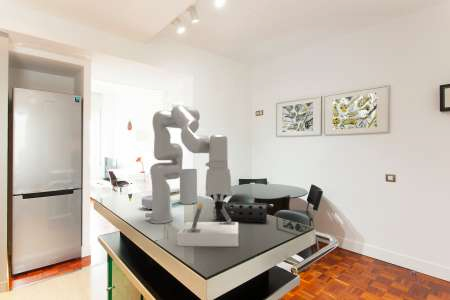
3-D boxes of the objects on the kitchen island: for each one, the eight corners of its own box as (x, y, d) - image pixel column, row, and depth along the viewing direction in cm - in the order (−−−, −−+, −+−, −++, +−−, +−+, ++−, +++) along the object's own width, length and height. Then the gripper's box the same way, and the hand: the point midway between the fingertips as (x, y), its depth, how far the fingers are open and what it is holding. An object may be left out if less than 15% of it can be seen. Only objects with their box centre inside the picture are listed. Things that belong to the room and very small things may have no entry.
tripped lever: (190, 230, 97) (198, 204, 97) (192, 227, 101) (199, 202, 101) (194, 231, 97) (202, 205, 97) (195, 229, 101) (203, 204, 101)
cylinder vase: (177, 204, 176) (177, 169, 176) (183, 201, 188) (183, 168, 188) (194, 205, 174) (193, 169, 174) (199, 201, 186) (198, 168, 186)
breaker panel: (177, 245, 96) (177, 232, 96) (186, 232, 112) (186, 221, 112) (238, 246, 95) (238, 233, 95) (238, 233, 111) (238, 221, 111)
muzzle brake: (266, 225, 123) (266, 204, 123) (212, 222, 129) (212, 203, 129) (266, 220, 133) (266, 201, 133) (216, 218, 138) (216, 199, 138)
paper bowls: (159, 211, 155) (159, 199, 155) (137, 210, 158) (137, 198, 158) (168, 206, 170) (168, 195, 170) (148, 205, 173) (148, 194, 173)
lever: (228, 224, 107) (216, 203, 108) (228, 222, 111) (216, 201, 111) (231, 222, 107) (219, 201, 108) (231, 220, 111) (219, 199, 111)
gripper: (198, 166, 95) (199, 213, 95) (236, 165, 95) (237, 213, 94) (201, 165, 103) (201, 208, 103) (236, 164, 102) (237, 208, 102)
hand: (218, 210), depth 99 cm, fingers closed
